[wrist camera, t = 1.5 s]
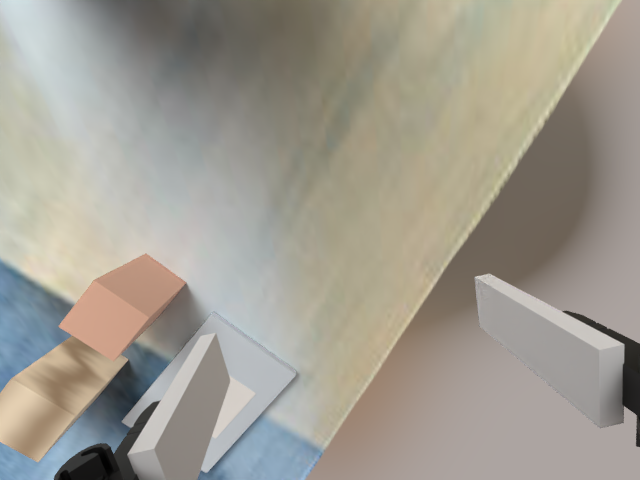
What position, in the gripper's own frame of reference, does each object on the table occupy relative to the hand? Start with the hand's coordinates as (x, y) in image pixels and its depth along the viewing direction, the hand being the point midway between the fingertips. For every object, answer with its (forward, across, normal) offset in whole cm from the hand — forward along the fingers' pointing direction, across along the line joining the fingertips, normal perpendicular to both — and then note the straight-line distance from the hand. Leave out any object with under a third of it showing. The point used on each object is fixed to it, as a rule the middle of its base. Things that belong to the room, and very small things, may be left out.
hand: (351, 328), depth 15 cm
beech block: (+25, -33, -11) cm, 43 cm away
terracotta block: (+25, -22, -2) cm, 33 cm away
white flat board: (+25, -19, -19) cm, 36 cm away
